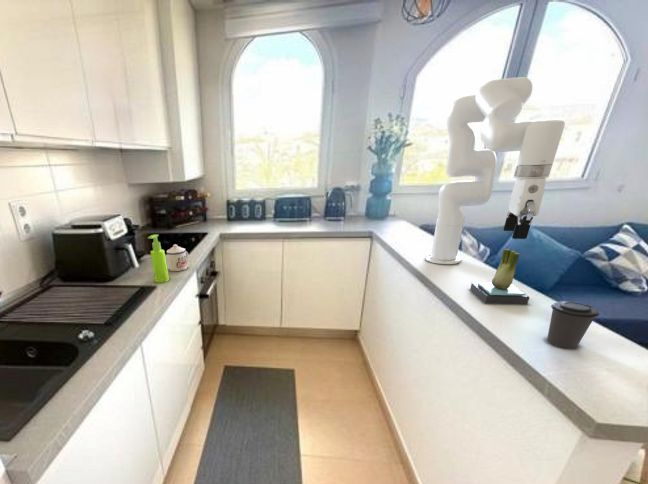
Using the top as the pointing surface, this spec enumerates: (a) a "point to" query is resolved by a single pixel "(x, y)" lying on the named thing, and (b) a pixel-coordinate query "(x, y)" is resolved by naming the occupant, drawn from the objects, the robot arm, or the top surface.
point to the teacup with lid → (177, 258)
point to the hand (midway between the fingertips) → (514, 234)
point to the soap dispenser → (158, 261)
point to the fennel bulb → (506, 269)
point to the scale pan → (501, 290)
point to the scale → (497, 296)
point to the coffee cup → (569, 323)
